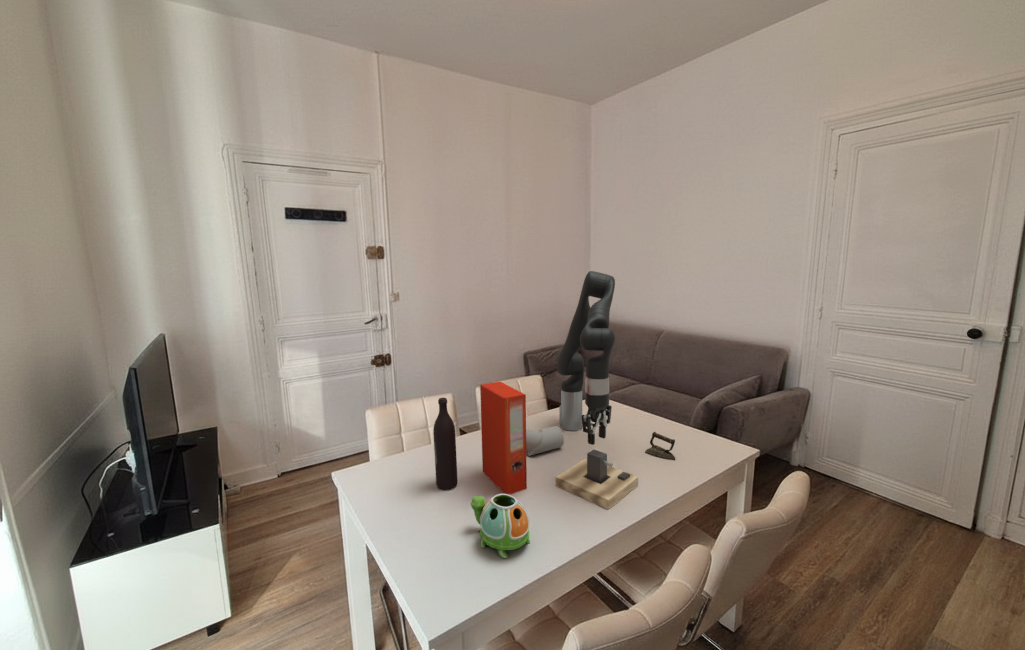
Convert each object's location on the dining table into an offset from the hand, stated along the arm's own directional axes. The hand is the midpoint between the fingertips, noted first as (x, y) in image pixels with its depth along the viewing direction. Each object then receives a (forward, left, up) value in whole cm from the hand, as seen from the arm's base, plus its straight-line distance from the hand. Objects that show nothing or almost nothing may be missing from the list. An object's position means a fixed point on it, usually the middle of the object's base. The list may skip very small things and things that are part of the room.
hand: (596, 440), depth 133 cm
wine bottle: (-37, -33, -16) cm, 52 cm away
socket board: (0, 0, -16) cm, 16 cm away
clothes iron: (+7, +34, -16) cm, 39 cm away
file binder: (-25, -18, -16) cm, 35 cm away
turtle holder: (-4, -40, -16) cm, 43 cm away
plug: (+2, 0, -15) cm, 15 cm away
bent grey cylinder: (-34, +6, -16) cm, 38 cm away
